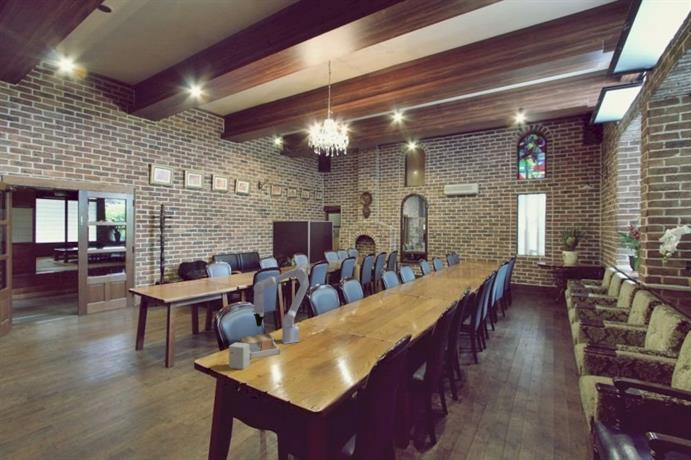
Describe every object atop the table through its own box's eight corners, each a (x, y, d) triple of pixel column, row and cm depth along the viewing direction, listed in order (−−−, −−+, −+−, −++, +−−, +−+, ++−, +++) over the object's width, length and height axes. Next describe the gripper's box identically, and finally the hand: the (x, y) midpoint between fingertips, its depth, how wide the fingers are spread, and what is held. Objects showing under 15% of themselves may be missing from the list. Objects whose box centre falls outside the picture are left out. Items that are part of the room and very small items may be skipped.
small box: (249, 365, 161) (250, 343, 161) (243, 369, 156) (243, 347, 156) (235, 363, 164) (235, 341, 164) (228, 367, 158) (228, 345, 158)
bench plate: (268, 340, 197) (268, 333, 197) (274, 346, 187) (274, 339, 187) (240, 344, 190) (240, 337, 190) (244, 351, 179) (244, 343, 179)
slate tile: (257, 348, 182) (257, 343, 182) (259, 351, 178) (259, 346, 178) (248, 349, 180) (248, 345, 180) (250, 352, 176) (250, 348, 176)
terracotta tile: (270, 338, 183) (271, 340, 181) (270, 348, 183) (271, 349, 181) (261, 340, 181) (262, 341, 179) (261, 349, 181) (261, 350, 179)
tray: (273, 346, 186) (273, 341, 186) (279, 354, 176) (279, 348, 176) (245, 351, 179) (245, 345, 179) (249, 359, 168) (249, 353, 168)
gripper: (249, 301, 198) (249, 323, 198) (254, 306, 185) (254, 330, 186) (261, 299, 202) (261, 322, 202) (267, 304, 189) (267, 328, 189)
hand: (258, 326), depth 194 cm, fingers closed
